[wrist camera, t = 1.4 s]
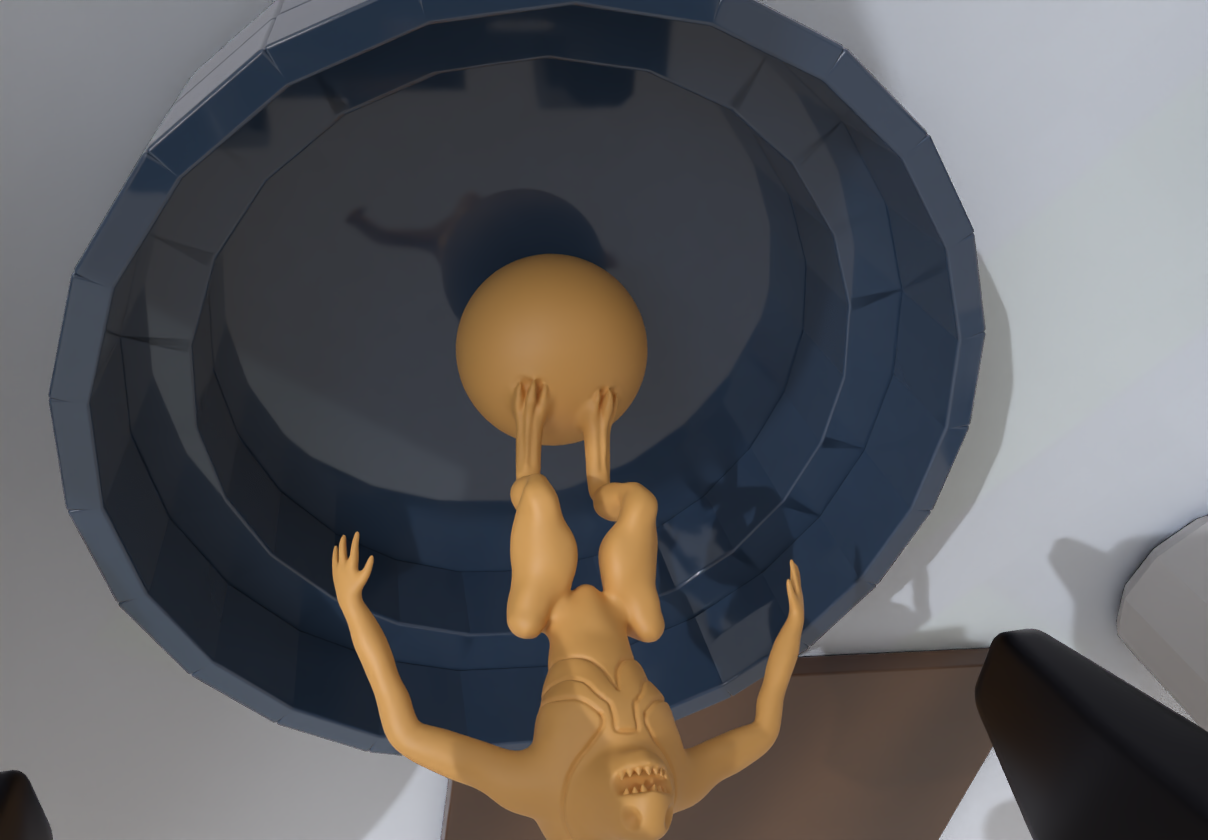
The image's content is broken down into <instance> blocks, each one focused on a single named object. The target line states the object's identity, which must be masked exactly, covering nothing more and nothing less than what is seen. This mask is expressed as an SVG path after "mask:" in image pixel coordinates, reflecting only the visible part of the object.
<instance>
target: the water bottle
mask: <svg viewBox="0 0 1208 840" xmlns="http://www.w3.org/2000/svg"><path fill="white" fill-rule="evenodd" d="M1116 621H1117V634H1118V636H1119V637H1120V638H1121V640H1122V641H1123V642H1124V643H1125V644H1126V646H1127V647H1128V648H1129V649H1130V650H1131V652H1132V653H1133V654H1134V655H1135V656H1136V658H1137V659H1138V660H1139V661H1140V662H1141V663H1142V664H1143V665H1144V666H1145V667H1146V668H1147V670H1148V671H1149V672H1150V673H1151V674H1152V675H1153V676H1154V677H1155V678H1156V679H1157V680H1158V682H1159V683H1160V684H1161V685H1162V686H1163V687H1164V688H1165V689H1166V690H1167V691H1168V692H1169V694H1170V695H1171V696H1172V697H1173V698H1174V699H1175V700H1176V701H1177V702H1178V703H1179V704H1180V706H1181V707H1182V708H1183V709H1184V710H1185V711H1186V712H1187V713H1188V714H1189V715H1190V716H1191V718H1192V719H1193V720H1194V721H1195V722H1196V723H1197V724H1198V725H1199V726H1200V727H1201V728H1203V729H1204V730H1206V731H1208V515H1207V516H1204V517H1201V518H1198V519H1196V520H1194V521H1193V522H1192V523H1190V524H1189V525H1187V526H1186V527H1184V528H1183V529H1181V530H1180V531H1179V532H1177V533H1176V534H1174V535H1173V536H1171V537H1170V538H1169V539H1167V540H1166V541H1164V542H1163V543H1161V544H1160V545H1158V546H1157V547H1156V548H1154V549H1153V550H1152V552H1151V553H1150V554H1149V555H1148V557H1147V558H1146V559H1145V560H1144V562H1143V563H1142V564H1141V566H1140V567H1139V568H1138V569H1137V571H1136V572H1135V573H1134V575H1133V576H1132V577H1131V578H1130V580H1129V581H1128V582H1127V583H1126V585H1125V587H1124V591H1123V595H1122V600H1121V604H1120V608H1119V612H1118V616H1117V620H1116Z"/></svg>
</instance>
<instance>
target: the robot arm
mask: <svg viewBox="0 0 1208 840" xmlns="http://www.w3.org/2000/svg"><path fill="white" fill-rule="evenodd" d="M975 702H976V707H977V710H978V713H979V715H980V717H981V720H982V722H983V724H984V727H985V729H986V731H987V734H988V736H989V738H990V741H991V743H992V745H993V748H994V750H995V752H996V755H997V757H998V759H999V762H1000V764H1001V766H1002V769H1003V771H1004V773H1005V776H1006V778H1007V780H1008V783H1009V785H1010V787H1011V790H1012V792H1013V794H1014V797H1015V799H1016V801H1017V804H1018V806H1019V808H1020V811H1021V813H1022V815H1023V818H1024V820H1025V822H1026V825H1027V827H1028V829H1029V831H1030V833H1031V836H1032V838H1033V840H1208V731H1206V730H1204V729H1203V728H1201V727H1199V726H1198V725H1196V724H1195V723H1193V722H1191V721H1190V720H1188V719H1186V718H1185V717H1183V716H1181V715H1180V714H1178V713H1176V712H1175V711H1173V710H1171V709H1170V708H1168V707H1167V706H1165V705H1163V704H1162V703H1160V702H1158V701H1157V700H1155V699H1153V698H1152V697H1150V696H1148V695H1147V694H1145V693H1143V692H1142V691H1140V690H1139V689H1137V688H1135V687H1134V686H1132V685H1130V684H1129V683H1127V682H1125V681H1124V680H1122V679H1120V678H1119V677H1117V676H1115V675H1114V674H1112V673H1111V672H1109V671H1107V670H1106V669H1104V668H1102V667H1101V666H1099V665H1097V664H1096V663H1094V662H1092V661H1091V660H1089V659H1087V658H1086V657H1084V656H1083V655H1081V654H1079V653H1078V652H1076V651H1074V650H1073V649H1071V648H1069V647H1068V646H1066V645H1064V644H1063V643H1061V642H1059V641H1058V640H1056V639H1055V638H1053V637H1051V636H1050V635H1048V634H1046V633H1044V632H1042V631H1040V630H1037V629H1023V630H1016V631H1009V632H1003V633H1000V634H999V635H997V636H996V637H995V638H994V639H993V641H992V643H991V646H990V648H989V651H988V653H987V656H986V659H985V661H984V664H983V666H982V669H981V671H980V674H979V677H978V679H977V682H976V685H975ZM0 840H53V835H52V830H51V827H50V824H49V822H48V820H47V818H46V815H45V813H44V811H43V809H42V807H41V805H40V803H39V800H38V798H37V796H36V794H35V792H34V790H33V787H32V785H31V783H30V781H29V779H28V778H27V776H26V775H25V774H23V773H22V772H20V771H18V770H10V771H3V772H0Z"/></svg>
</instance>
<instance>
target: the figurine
mask: <svg viewBox="0 0 1208 840" xmlns="http://www.w3.org/2000/svg"><path fill="white" fill-rule="evenodd" d="M456 361H457V367H458V372H459V376H460V379H461V382H462V384H463V387H464V389H465V391H466V393H467V395H468V397H469V399H470V400H471V402H472V403H473V405H474V406H475V408H476V409H477V410H478V411H479V412H480V414H481V415H482V416H483V417H484V418H485V419H486V420H487V421H488V422H490V423H491V424H492V425H493V426H495V427H496V428H497V429H499V430H500V431H502V432H504V433H505V434H507V435H509V436H511V437H513V438H516V481H515V482H514V483H513V485H512V487H511V491H510V496H511V501H512V503H513V506H514V507H515V509H516V514H515V518H514V522H513V526H512V531H511V539H510V558H511V567H512V580H511V588H510V593H509V597H508V601H507V624H508V627H509V629H510V630H511V632H512V633H513V634H514V635H516V636H517V637H520V638H523V639H533V638H535V637H537V636H538V635H539V634H540V633H544V634H545V635H546V636H547V637H548V639H549V643H550V648H549V656H548V673H547V676H546V679H545V682H544V685H543V689H542V695H541V699H542V700H541V704H540V708H539V712H538V714H537V717H536V721H535V728H534V737H533V741H532V744H531V745H530V746H529V747H528V748H526V749H524V750H519V751H514V750H508V749H504V748H501V747H498V746H495V745H493V744H490V743H487V742H484V741H481V740H478V739H475V738H472V737H469V736H466V735H463V734H459V733H456V732H453V731H450V730H447V729H443V728H439V727H435V726H430V725H427V724H423V723H421V722H420V721H419V720H418V719H417V717H416V714H415V712H414V709H413V705H412V702H411V698H410V696H409V693H408V691H407V689H406V687H405V685H404V684H403V682H402V680H401V678H400V676H399V673H398V670H397V667H396V664H395V660H394V657H393V654H392V651H391V648H390V646H389V644H388V641H387V639H386V637H385V634H384V632H383V631H382V629H381V627H380V625H379V624H378V622H377V620H376V619H375V617H374V616H373V614H372V613H371V611H370V610H369V609H368V607H367V606H366V605H365V603H364V601H363V599H362V589H363V587H364V585H365V584H366V582H367V580H368V578H369V576H370V574H371V571H372V567H373V562H374V557H373V556H372V555H371V556H370V557H369V559H368V561H367V563H366V565H365V567H364V568H363V570H361V571H359V570H358V562H359V532H356V533H355V535H354V537H353V541H352V545H351V552H350V556H349V559H348V557H347V547H346V536H345V535H343V536H342V537H341V539H340V543H339V556H338V547H337V546H335V547H334V550H333V558H332V572H333V581H334V586H335V590H336V595H337V599H338V602H339V605H340V607H341V609H342V611H343V614H344V616H345V618H346V621H347V623H348V626H349V630H350V633H351V638H352V642H353V645H354V648H355V650H356V652H357V654H358V657H359V659H360V661H361V663H362V666H363V668H364V670H365V673H366V675H367V678H368V680H369V682H370V684H371V687H372V689H373V692H374V695H375V698H376V702H377V706H378V710H379V715H380V719H381V723H382V726H383V729H384V732H385V734H386V737H387V739H388V740H389V742H390V743H391V745H392V746H393V747H394V748H395V749H396V750H397V751H398V752H399V753H401V754H402V755H404V756H405V757H406V758H408V759H410V760H411V761H413V762H415V763H417V764H419V765H421V766H423V767H425V768H427V769H429V770H431V771H434V772H436V773H438V774H440V775H442V776H445V777H447V778H449V779H451V780H454V781H457V782H460V783H463V784H466V785H468V786H471V787H473V788H475V789H477V790H479V791H481V792H483V793H484V794H486V795H487V796H488V797H490V798H491V799H492V800H494V801H495V802H496V803H497V804H499V805H500V806H502V807H503V808H505V809H507V810H509V811H511V812H513V813H516V814H519V815H523V816H527V817H530V818H532V819H534V820H535V821H536V822H537V824H538V826H539V828H540V829H541V831H542V833H543V835H544V836H545V838H546V840H659V839H660V838H662V837H663V836H664V835H665V834H666V833H667V831H668V829H669V827H670V825H671V821H672V817H673V814H674V813H676V812H679V811H682V810H685V809H687V808H689V807H691V806H693V805H695V804H696V803H698V802H699V801H700V800H702V799H703V798H704V797H705V796H706V795H707V794H708V793H709V792H710V790H711V789H712V788H713V787H714V786H716V785H717V784H718V783H719V782H721V781H722V780H724V779H726V778H728V777H730V776H732V775H734V774H736V773H738V772H739V771H741V770H743V769H744V768H746V767H747V766H749V765H750V764H752V763H753V762H755V761H756V760H757V759H759V758H760V757H761V756H763V755H764V754H765V753H766V752H767V751H768V750H769V749H770V748H771V747H772V745H773V744H774V742H775V741H776V739H777V737H778V734H779V731H780V726H781V719H782V710H783V701H784V696H785V692H786V689H787V686H788V683H789V680H790V677H791V675H792V672H793V669H794V667H795V664H796V661H797V658H798V654H799V648H800V639H801V633H802V629H803V624H804V601H803V594H802V589H801V579H800V572H799V569H798V566H797V565H796V564H795V563H794V561H793V560H792V559H791V560H790V580H789V579H787V583H786V587H787V594H788V599H789V614H788V618H787V620H786V622H785V624H784V625H783V627H782V629H781V630H780V632H779V634H778V636H777V638H776V640H775V642H774V644H773V647H772V650H771V652H770V655H769V658H768V662H767V665H766V670H765V675H764V680H763V684H762V686H761V689H760V692H759V694H758V697H757V702H756V716H755V720H754V722H753V723H750V724H748V725H745V726H742V727H738V728H735V729H733V730H730V731H728V732H726V733H723V734H721V735H719V736H716V737H714V738H712V739H709V740H707V741H705V742H703V743H701V744H698V745H696V746H694V747H691V748H688V749H684V748H683V744H682V741H681V737H680V735H679V732H678V729H677V727H676V724H675V721H674V717H673V714H672V711H671V709H670V706H669V705H668V703H667V702H664V700H665V699H664V696H663V695H662V693H661V692H660V691H659V690H658V689H657V688H656V687H655V686H654V685H653V684H652V683H651V682H650V681H648V679H647V677H646V674H645V672H644V670H643V668H642V666H641V665H640V664H639V662H637V661H636V660H634V656H633V654H632V651H631V648H630V644H629V641H628V637H627V636H629V637H632V638H634V639H636V640H639V641H642V642H647V643H649V642H655V641H657V640H658V639H659V638H660V637H661V636H662V634H663V632H664V628H665V622H664V618H663V615H662V612H661V607H660V601H659V597H658V593H657V590H656V584H655V581H656V563H657V549H658V540H657V531H656V516H657V511H658V503H657V500H656V497H655V496H654V495H653V494H652V493H651V492H650V491H649V490H648V489H647V488H645V487H644V486H643V485H641V484H640V483H637V482H627V483H617V482H614V483H610V431H611V426H612V424H613V423H614V422H615V421H617V420H618V419H619V418H620V417H621V416H622V415H623V413H624V412H625V411H626V410H627V409H628V407H629V406H630V405H631V403H632V401H633V400H634V398H635V396H636V395H637V393H638V391H639V388H640V386H641V383H642V381H643V377H644V374H645V369H646V364H647V336H646V331H645V326H644V323H643V320H642V317H641V314H640V312H639V310H638V307H637V306H636V304H635V302H634V300H633V299H632V297H631V296H630V294H629V293H628V291H627V290H626V289H625V288H624V287H623V285H622V284H621V283H620V282H619V281H618V280H617V279H616V278H614V277H613V276H612V275H611V274H609V273H608V272H607V271H605V270H604V269H602V268H601V267H599V266H597V265H595V264H593V263H591V262H589V261H586V260H584V259H581V258H578V257H574V256H569V255H563V254H540V255H533V256H529V257H525V258H522V259H519V260H516V261H514V262H511V263H509V264H507V265H505V266H504V267H502V268H500V269H499V270H497V271H496V272H494V273H493V274H492V275H491V276H489V277H488V278H487V279H486V280H485V281H484V282H483V283H482V284H481V285H480V286H479V287H478V289H477V290H476V291H475V292H474V294H473V295H472V297H471V298H470V300H469V302H468V303H467V305H466V307H465V309H464V312H463V314H462V317H461V320H460V323H459V327H458V331H457V338H456ZM583 440H584V446H585V458H586V475H587V484H588V491H589V494H590V497H591V499H592V500H593V506H594V509H595V511H596V513H597V514H598V515H599V516H600V517H602V518H604V519H606V520H609V521H616V523H615V524H614V526H613V527H612V528H611V529H610V530H609V531H608V532H607V534H606V535H605V537H604V538H603V540H602V542H601V544H600V548H599V554H598V560H599V569H600V575H601V581H602V586H603V591H602V592H600V591H599V590H598V589H596V588H595V587H594V586H592V585H589V584H583V585H580V586H579V587H577V588H576V589H574V590H571V586H572V582H573V579H574V576H575V572H576V568H577V561H578V550H577V544H576V540H575V538H574V535H573V533H572V531H571V530H570V528H569V527H568V525H567V523H566V522H565V520H564V518H563V515H562V512H561V508H560V503H559V499H558V496H557V494H556V492H555V490H554V488H553V487H552V485H551V484H550V483H549V481H548V480H547V478H546V477H545V476H544V475H542V474H540V471H541V445H548V446H556V445H566V444H572V443H576V442H580V441H583Z"/></svg>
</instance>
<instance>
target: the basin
mask: <svg viewBox="0 0 1208 840" xmlns="http://www.w3.org/2000/svg"><path fill="white" fill-rule="evenodd" d="M973 232H974V230H973V227H972V225H971V223H970V221H969V219H968V216H967V214H966V212H965V210H964V208H963V206H962V203H961V201H960V199H959V197H958V195H957V193H956V190H955V188H954V186H953V184H952V182H951V180H950V178H949V175H948V173H947V171H946V169H945V167H944V165H943V162H942V160H941V158H940V156H939V154H938V152H937V149H936V147H935V145H934V143H933V141H932V139H931V136H930V135H928V134H927V132H926V130H925V129H924V128H923V127H922V126H921V125H920V124H919V123H918V122H917V121H916V120H915V118H914V117H913V116H912V115H911V114H910V113H909V112H908V111H907V110H906V109H905V108H904V107H903V106H902V105H901V104H900V103H899V102H898V101H897V100H896V99H895V98H894V97H893V96H892V95H891V93H890V92H889V91H888V90H887V89H886V88H885V87H884V86H883V85H882V84H881V83H880V82H879V81H878V80H877V79H876V78H875V77H874V76H873V75H872V74H871V73H870V72H869V71H868V70H867V68H866V67H865V66H864V65H863V64H862V63H861V62H860V61H859V60H858V59H857V58H856V57H855V56H854V55H853V54H852V53H851V52H850V51H849V50H848V49H846V48H844V47H843V46H842V44H840V43H838V42H836V41H834V40H832V39H830V38H828V37H826V36H824V35H822V34H820V33H819V32H817V31H815V30H813V29H811V28H809V27H807V26H805V25H803V24H801V23H799V22H797V21H795V20H793V19H792V18H790V17H788V16H786V15H784V14H782V13H780V12H778V11H776V10H774V9H772V8H770V7H768V6H766V5H765V4H763V3H761V2H759V1H757V0H276V1H275V2H273V3H272V4H271V5H270V6H269V7H268V8H267V9H266V10H264V11H263V12H262V13H261V14H260V15H259V16H258V17H256V18H255V19H254V20H253V21H252V22H251V23H250V24H249V25H247V26H246V27H245V28H244V29H243V30H242V31H241V32H239V33H238V34H237V35H236V36H235V37H234V38H233V39H231V40H230V41H229V42H228V43H227V44H226V45H225V46H224V47H222V48H221V49H220V50H219V51H218V52H217V53H216V54H214V55H213V56H212V57H211V58H210V59H209V60H208V61H207V62H205V63H204V64H203V65H202V66H201V67H200V68H199V69H197V70H196V71H195V73H194V74H193V76H192V78H190V79H189V80H188V82H187V83H186V85H185V86H184V88H183V90H182V91H181V93H180V94H179V96H178V98H177V99H176V101H175V102H174V104H173V105H172V107H171V109H170V110H169V112H168V113H167V115H166V116H165V118H164V120H163V121H162V123H161V124H160V126H159V128H158V129H157V131H156V132H155V134H154V135H153V137H152V139H151V140H150V142H149V143H148V145H147V147H146V148H145V150H144V151H143V153H142V155H141V156H140V158H139V160H138V161H137V163H136V165H135V166H134V168H133V170H132V171H131V173H130V175H129V177H128V178H127V180H126V182H125V183H124V185H123V187H122V188H121V190H120V192H119V194H118V195H117V197H116V199H115V200H114V202H113V204H112V205H111V207H110V209H109V210H108V212H107V214H106V216H105V217H104V219H103V221H102V222H101V224H100V226H99V227H98V229H97V231H96V233H95V234H94V236H93V238H92V239H91V241H90V243H89V244H88V246H87V248H86V249H85V251H84V253H83V255H82V256H81V258H80V260H79V261H78V263H77V265H76V266H75V269H74V272H73V274H72V275H71V280H70V285H69V290H68V295H67V300H66V306H65V311H64V316H63V321H62V326H61V331H60V337H59V342H58V347H57V352H56V357H55V363H54V368H53V373H52V378H51V383H50V389H49V394H48V395H49V397H50V398H49V405H50V412H51V418H52V424H53V430H54V436H55V442H56V449H57V455H58V461H59V467H60V473H61V479H62V486H63V492H64V498H65V504H66V508H67V509H68V513H69V515H70V517H71V519H72V521H73V522H74V524H75V526H76V528H77V530H78V532H79V533H80V535H81V537H82V539H83V541H84V543H85V545H86V546H87V548H88V550H89V552H90V554H91V556H92V558H93V559H94V561H95V563H96V565H97V567H98V569H99V570H100V572H101V574H102V576H103V578H104V580H105V582H106V583H107V585H108V587H109V589H110V591H111V593H112V594H113V596H114V598H115V600H116V601H117V602H119V606H120V607H121V608H122V609H123V610H124V611H125V612H126V613H127V614H128V615H129V616H130V617H131V618H132V619H133V620H134V621H135V622H136V623H137V624H138V625H139V626H140V627H141V628H142V629H143V630H144V631H145V632H146V633H147V634H148V635H149V636H150V637H151V638H152V639H153V640H154V641H155V642H157V643H158V644H159V645H160V646H161V647H162V648H163V649H164V650H165V651H166V652H167V653H168V654H169V655H170V656H171V657H172V658H173V659H174V660H175V661H176V662H177V663H178V664H179V665H180V666H181V667H182V668H183V669H184V670H185V671H186V672H187V673H188V674H192V676H193V677H194V678H196V679H198V680H200V681H201V682H203V683H205V684H207V685H209V686H210V687H212V688H214V689H216V690H217V691H219V692H221V693H223V694H224V695H226V696H228V697H230V698H231V699H233V700H235V701H237V702H238V703H240V704H242V705H244V706H245V707H247V708H249V709H251V710H252V711H254V712H256V713H258V714H259V715H261V716H263V717H265V718H266V719H268V720H270V721H272V722H274V723H276V722H277V724H278V725H281V726H284V727H288V728H291V729H294V730H297V731H301V732H304V733H307V734H311V735H314V736H317V737H320V738H324V739H327V740H330V741H333V742H337V743H340V744H343V745H346V746H350V747H353V748H356V749H360V750H363V751H370V752H372V753H381V754H391V755H400V756H404V755H402V754H401V753H399V752H398V751H397V750H396V749H395V748H394V747H393V746H392V745H391V743H390V742H389V740H388V739H387V737H386V734H385V732H384V729H383V726H382V723H381V719H380V715H379V710H378V706H377V702H376V698H375V695H374V692H373V689H372V687H371V684H370V682H369V680H368V678H367V675H366V673H365V670H364V668H363V666H362V663H361V661H360V659H359V657H358V654H357V652H356V650H355V648H354V645H353V642H352V638H351V633H350V630H349V626H348V623H347V621H346V618H345V616H344V614H343V611H342V609H341V607H340V605H339V602H338V599H337V595H336V590H335V586H334V581H333V572H332V558H333V550H334V547H335V546H337V547H338V556H339V543H340V539H341V537H342V536H343V535H345V536H346V547H347V557H348V559H349V556H350V552H351V545H352V541H353V537H354V535H355V533H356V532H359V562H358V570H359V571H361V570H363V568H364V567H365V565H366V563H367V561H368V559H369V557H370V556H371V555H372V556H373V557H374V562H373V567H372V571H371V574H370V576H369V578H368V580H367V582H366V584H365V585H364V587H363V589H362V599H363V601H364V603H365V605H366V606H367V607H368V609H369V610H370V611H371V613H372V614H373V616H374V617H375V619H376V620H377V622H378V624H379V625H380V627H381V629H382V631H383V632H384V634H385V637H386V639H387V641H388V644H389V646H390V648H391V651H392V654H393V657H394V660H395V664H396V667H397V670H398V673H399V676H400V678H401V680H402V682H403V684H404V685H405V687H406V689H407V691H408V693H409V696H410V698H411V702H412V705H413V709H414V712H415V714H416V717H417V719H418V720H419V721H420V722H421V723H423V724H427V725H430V726H435V727H439V728H443V729H447V730H450V731H453V732H456V733H459V734H463V735H466V736H469V737H472V738H475V739H478V740H481V741H484V742H487V743H490V744H493V745H495V746H498V747H501V748H504V749H508V750H514V751H519V750H524V749H526V748H528V747H529V746H530V745H531V744H532V741H533V737H534V728H535V721H536V717H537V714H538V712H539V708H540V704H541V700H542V699H541V695H542V689H543V685H544V682H545V679H546V676H547V673H548V656H549V648H550V643H549V639H548V637H547V636H546V635H545V634H544V633H540V634H539V635H538V636H537V637H535V638H533V639H523V638H520V637H517V636H516V635H514V634H513V633H512V632H511V630H510V629H509V627H508V624H507V601H508V597H509V593H510V588H511V580H512V567H511V558H510V539H511V531H512V526H513V522H514V518H515V514H516V509H515V507H514V506H513V503H512V501H511V496H510V491H511V487H512V485H513V483H514V482H515V481H516V438H513V437H511V436H509V435H507V434H505V433H504V432H502V431H500V430H499V429H497V428H496V427H495V426H493V425H492V424H491V423H490V422H488V421H487V420H486V419H485V418H484V417H483V416H482V415H481V414H480V412H479V411H478V410H477V409H476V408H475V406H474V405H473V403H472V402H471V400H470V399H469V397H468V395H467V393H466V391H465V389H464V387H463V384H462V382H461V379H460V376H459V372H458V367H457V361H456V338H457V331H458V327H459V323H460V320H461V317H462V314H463V312H464V309H465V307H466V305H467V303H468V302H469V300H470V298H471V297H472V295H473V294H474V292H475V291H476V290H477V289H478V287H479V286H480V285H481V284H482V283H483V282H484V281H485V280H486V279H487V278H488V277H489V276H491V275H492V274H493V273H494V272H496V271H497V270H499V269H500V268H502V267H504V266H505V265H507V264H509V263H511V262H514V261H516V260H519V259H522V258H525V257H529V256H533V255H540V254H563V255H569V256H574V257H578V258H581V259H584V260H586V261H589V262H591V263H593V264H595V265H597V266H599V267H601V268H602V269H604V270H605V271H607V272H608V273H609V274H611V275H612V276H613V277H614V278H616V279H617V280H618V281H619V282H620V283H621V284H622V285H623V287H624V288H625V289H626V290H627V291H628V293H629V294H630V296H631V297H632V299H633V300H634V302H635V304H636V306H637V307H638V310H639V312H640V314H641V317H642V320H643V323H644V326H645V331H646V336H647V364H646V369H645V374H644V377H643V381H642V383H641V386H640V388H639V391H638V393H637V395H636V396H635V398H634V400H633V401H632V403H631V405H630V406H629V407H628V409H627V410H626V411H625V412H624V413H623V415H622V416H621V417H620V418H619V419H618V420H617V421H615V422H614V423H613V424H612V426H611V431H610V483H614V482H617V483H627V482H637V483H640V484H641V485H643V486H644V487H645V488H647V489H648V490H649V491H650V492H651V493H652V494H653V495H654V496H655V497H656V500H657V503H658V511H657V516H656V531H657V540H658V549H657V563H656V581H655V584H656V590H657V593H658V597H659V601H660V607H661V612H662V615H663V618H664V622H665V628H664V632H663V634H662V636H661V637H660V638H659V639H658V640H657V641H655V642H649V643H647V642H642V641H639V640H636V639H634V638H632V637H629V636H627V637H628V641H629V644H630V648H631V651H632V654H633V656H634V660H636V661H637V662H639V664H640V665H641V666H642V668H643V670H644V672H645V674H646V677H647V679H648V681H650V682H651V683H652V684H653V685H654V686H655V687H656V688H657V689H658V690H659V691H660V692H661V693H662V695H663V696H664V699H665V700H664V702H667V703H668V705H669V706H670V709H671V711H672V714H673V717H674V721H677V720H679V719H681V718H684V717H686V716H688V715H691V714H693V713H695V712H698V711H700V710H703V709H705V708H707V707H710V706H712V705H714V704H717V703H719V702H721V701H724V700H726V699H728V698H730V697H731V695H732V696H735V695H736V694H738V693H739V692H741V691H742V690H744V689H746V688H747V687H749V686H750V685H752V684H753V683H755V682H757V681H758V680H760V679H761V678H763V677H764V675H765V670H766V665H767V662H768V658H769V655H770V652H771V650H772V647H773V644H774V642H775V640H776V638H777V636H778V634H779V632H780V630H781V629H782V627H783V625H784V624H785V622H786V620H787V618H788V614H789V599H788V594H787V587H786V583H787V579H789V580H790V560H791V559H792V560H793V561H794V563H795V564H796V565H797V566H798V569H799V572H800V579H801V589H802V594H803V601H804V624H803V629H802V633H801V639H800V648H799V654H800V653H802V652H804V651H805V650H807V649H808V648H809V647H808V646H812V645H813V644H814V643H815V642H816V641H817V640H818V639H819V638H820V637H822V636H823V635H824V634H825V633H826V632H827V631H828V630H829V629H830V628H831V627H832V626H834V625H835V624H836V623H837V622H838V621H839V620H840V619H841V618H842V617H843V616H844V615H845V614H847V613H848V612H849V611H850V610H851V609H852V608H853V607H854V606H855V605H856V604H857V603H859V602H860V601H861V600H862V599H863V598H864V597H865V596H866V595H867V594H868V593H869V592H871V591H872V590H873V589H874V588H875V586H876V584H878V583H879V582H880V581H881V580H882V578H883V577H884V575H885V574H886V573H887V571H888V570H889V569H890V567H891V566H892V565H893V563H894V562H895V561H896V559H897V558H898V556H899V555H900V554H901V552H902V551H903V550H904V548H905V547H906V546H907V544H908V543H909V542H910V540H911V539H912V537H913V536H914V535H915V533H916V532H917V531H918V529H919V528H920V527H921V525H922V524H923V523H924V521H925V520H926V518H927V517H928V516H929V514H930V512H931V511H930V510H932V509H933V508H934V505H935V503H936V501H937V499H938V496H939V494H940V492H941V490H942V487H943V485H944V483H945V481H946V478H947V476H948V474H949V472H950V469H951V467H952V465H953V463H954V460H955V458H956V456H957V454H958V451H959V449H960V447H961V445H962V442H963V440H964V438H965V436H966V433H967V431H968V429H969V426H968V425H969V424H970V421H971V416H972V410H973V404H974V398H975V392H976V386H977V380H978V374H979V369H980V363H981V357H982V351H983V345H984V339H985V332H984V331H985V321H984V312H983V304H982V295H981V287H980V278H979V270H978V261H977V253H976V244H975V236H974V233H973ZM540 474H542V475H544V476H545V477H546V478H547V480H548V481H549V483H550V484H551V485H552V487H553V488H554V490H555V492H556V494H557V496H558V499H559V503H560V508H561V512H562V515H563V518H564V520H565V522H566V523H567V525H568V527H569V528H570V530H571V531H572V533H573V535H574V538H575V540H576V544H577V550H578V561H577V568H576V572H575V576H574V579H573V582H572V586H571V590H574V589H576V588H577V587H579V586H580V585H583V584H589V585H592V586H594V587H595V588H596V589H598V590H599V591H600V592H602V591H603V586H602V581H601V575H600V569H599V560H598V554H599V548H600V544H601V542H602V540H603V538H604V537H605V535H606V534H607V532H608V531H609V530H610V529H611V528H612V527H613V526H614V524H615V523H616V521H609V520H606V519H604V518H602V517H600V516H599V515H598V514H597V513H596V511H595V509H594V506H593V500H592V499H591V497H590V494H589V491H588V484H587V475H586V458H585V446H584V440H583V441H580V442H576V443H572V444H566V445H556V446H548V445H541V471H540ZM799 654H798V655H799Z"/></svg>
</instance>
